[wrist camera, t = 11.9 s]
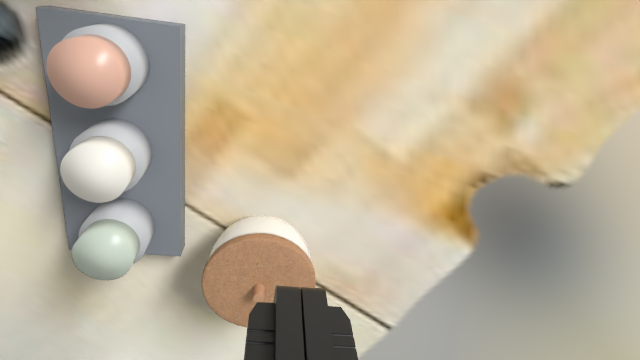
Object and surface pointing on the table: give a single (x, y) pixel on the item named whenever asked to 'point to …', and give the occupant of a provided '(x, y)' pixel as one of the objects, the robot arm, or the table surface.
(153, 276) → the table surface
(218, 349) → the table surface
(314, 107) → the table surface
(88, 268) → the knob
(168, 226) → the control board
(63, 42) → the knob
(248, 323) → the robot arm
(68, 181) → the knob mid
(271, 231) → the lidded jar
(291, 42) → the table surface
